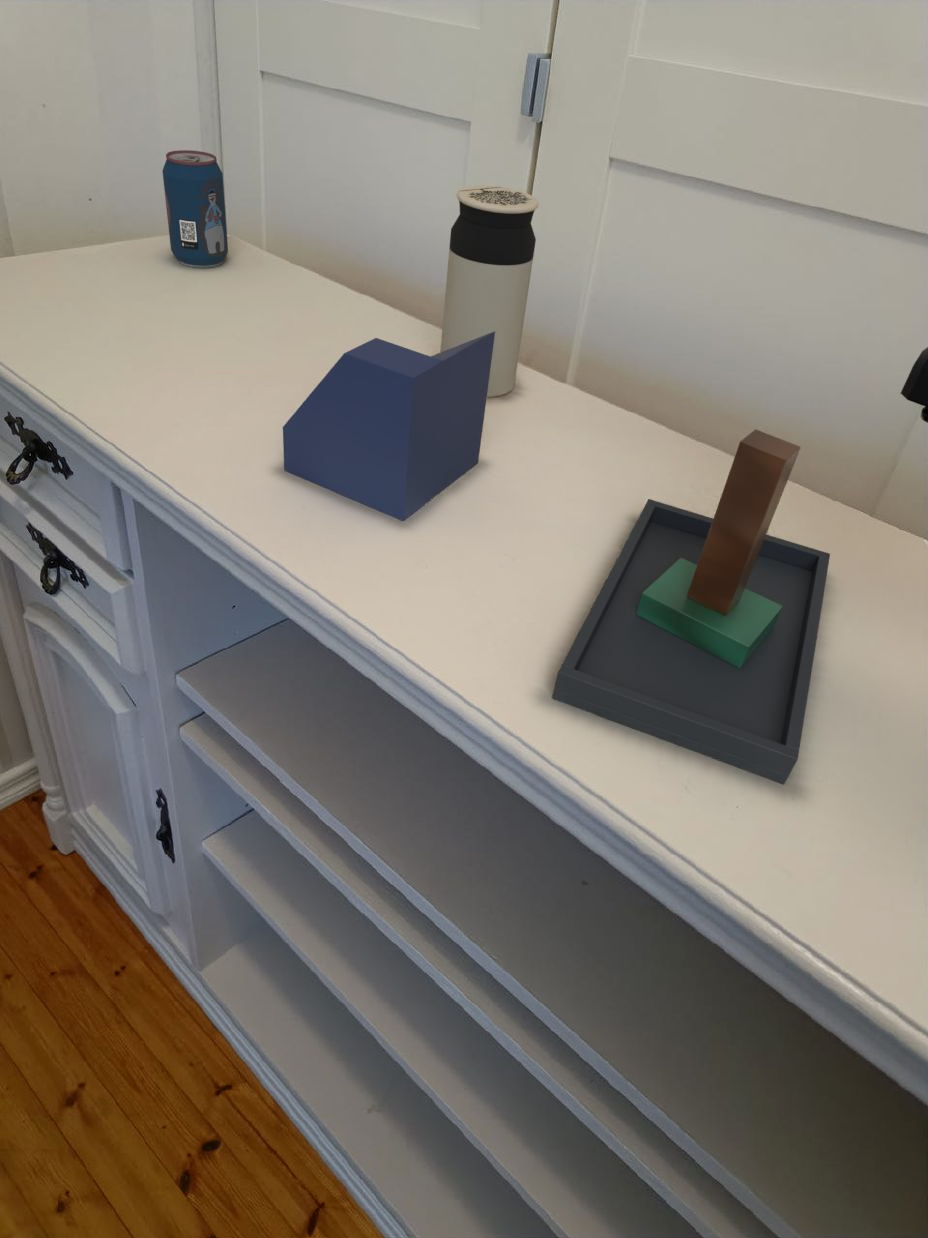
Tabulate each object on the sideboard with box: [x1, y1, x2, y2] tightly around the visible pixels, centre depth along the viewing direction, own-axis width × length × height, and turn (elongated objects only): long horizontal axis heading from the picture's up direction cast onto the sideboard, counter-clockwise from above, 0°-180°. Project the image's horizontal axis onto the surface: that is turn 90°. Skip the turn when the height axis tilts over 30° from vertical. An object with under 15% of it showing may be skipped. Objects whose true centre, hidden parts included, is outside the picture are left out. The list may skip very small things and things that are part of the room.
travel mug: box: [439, 185, 539, 398], centre depth 83 cm, size 8×8×18 cm
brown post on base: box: [636, 429, 801, 668], centre depth 56 cm, size 8×6×14 cm
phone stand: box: [282, 331, 495, 522], centre depth 70 cm, size 12×12×12 cm
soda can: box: [162, 149, 229, 269], centre depth 104 cm, size 7×7×12 cm
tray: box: [551, 498, 831, 785], centre depth 60 cm, size 24×15×2 cm, turn 157°
